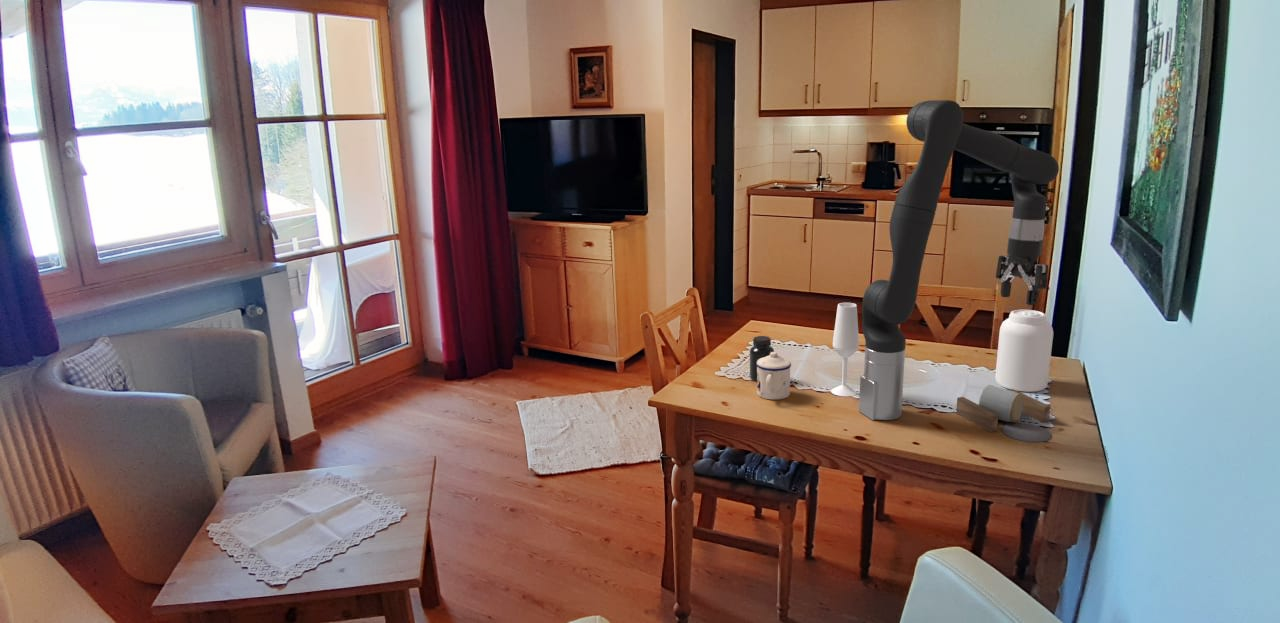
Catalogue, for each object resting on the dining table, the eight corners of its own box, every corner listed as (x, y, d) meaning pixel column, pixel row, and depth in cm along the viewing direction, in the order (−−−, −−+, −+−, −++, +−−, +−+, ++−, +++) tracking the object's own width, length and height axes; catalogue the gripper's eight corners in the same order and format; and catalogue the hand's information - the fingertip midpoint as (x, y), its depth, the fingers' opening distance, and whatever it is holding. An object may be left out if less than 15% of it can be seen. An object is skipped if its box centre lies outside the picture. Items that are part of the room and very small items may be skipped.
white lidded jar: (1053, 382, 199) (1061, 311, 194) (1038, 396, 190) (1047, 321, 185) (1004, 373, 208) (1010, 303, 202) (987, 385, 199) (994, 313, 194)
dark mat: (1024, 444, 164) (1024, 444, 164) (992, 427, 174) (992, 426, 174) (1061, 438, 167) (1061, 437, 167) (1027, 421, 176) (1027, 420, 176)
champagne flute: (843, 385, 203) (846, 300, 197) (862, 392, 197) (866, 305, 191) (825, 390, 200) (828, 304, 193) (844, 398, 194) (848, 309, 188)
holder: (990, 432, 171) (992, 416, 170) (956, 412, 183) (957, 397, 182) (1048, 422, 175) (1050, 406, 174) (1011, 403, 187) (1012, 388, 186)
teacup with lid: (759, 386, 204) (760, 346, 201) (793, 389, 201) (793, 348, 198) (750, 402, 194) (750, 360, 191) (785, 406, 190) (786, 363, 187)
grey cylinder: (1012, 427, 172) (1015, 396, 171) (976, 419, 178) (979, 388, 176) (1029, 415, 180) (1031, 384, 178) (994, 407, 185) (996, 377, 184)
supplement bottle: (748, 374, 214) (748, 334, 211) (772, 374, 213) (772, 334, 210) (750, 383, 207) (751, 342, 204) (775, 382, 207) (776, 341, 204)
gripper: (992, 233, 188) (985, 295, 192) (1035, 242, 175) (1027, 308, 179) (1016, 231, 190) (1009, 293, 194) (1061, 240, 177) (1052, 306, 181)
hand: (1017, 300), depth 187 cm, fingers open, 8 cm apart
